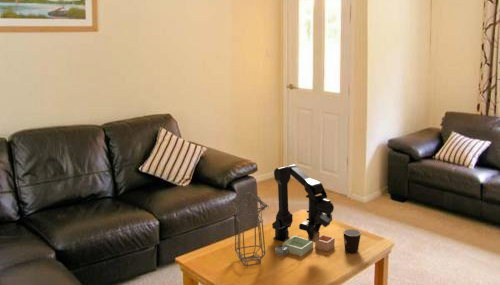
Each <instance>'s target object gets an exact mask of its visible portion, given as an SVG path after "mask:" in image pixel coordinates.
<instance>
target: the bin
mask: <svg viewBox="0 0 500 285" xmlns="http://www.w3.org/2000/svg"><path fill="white" fill-rule="evenodd" d="M282 246H285V247H288V254H293V255H295V256H299V257H303V256H304V255H305V254H308V252H310V251H311V250H312V249H314V242H312V241H309V240H308V238H303V237H300V236H297V235H293V236H292V237H290V238H288V239H287V240H285V241H283V242H282Z"/></svg>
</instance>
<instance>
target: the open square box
mask: <svg viewBox="0 0 500 285" xmlns="http://www.w3.org/2000/svg"><path fill="white" fill-rule="evenodd" d="M335 241H336V240H335V237H333V236H329V235H326V234H321V235H319V240H318V241H316V242H314V249H315V250H316V249H317V250H320V251H323V252H326V253H328V252H329V251H331V250H333V248H335Z"/></svg>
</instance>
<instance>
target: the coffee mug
mask: <svg viewBox="0 0 500 285" xmlns="http://www.w3.org/2000/svg"><path fill="white" fill-rule="evenodd" d="M361 235H362V232H361V231H360V230H358V229H355V228H347V229H344V230H343V243H344V244H343V245H344V251H345V253H346V254H352V255H353V254H357V253H358V252H359V246H360V239H361Z"/></svg>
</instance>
